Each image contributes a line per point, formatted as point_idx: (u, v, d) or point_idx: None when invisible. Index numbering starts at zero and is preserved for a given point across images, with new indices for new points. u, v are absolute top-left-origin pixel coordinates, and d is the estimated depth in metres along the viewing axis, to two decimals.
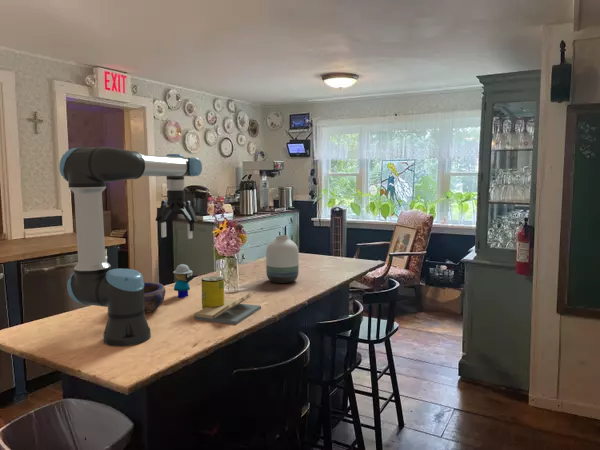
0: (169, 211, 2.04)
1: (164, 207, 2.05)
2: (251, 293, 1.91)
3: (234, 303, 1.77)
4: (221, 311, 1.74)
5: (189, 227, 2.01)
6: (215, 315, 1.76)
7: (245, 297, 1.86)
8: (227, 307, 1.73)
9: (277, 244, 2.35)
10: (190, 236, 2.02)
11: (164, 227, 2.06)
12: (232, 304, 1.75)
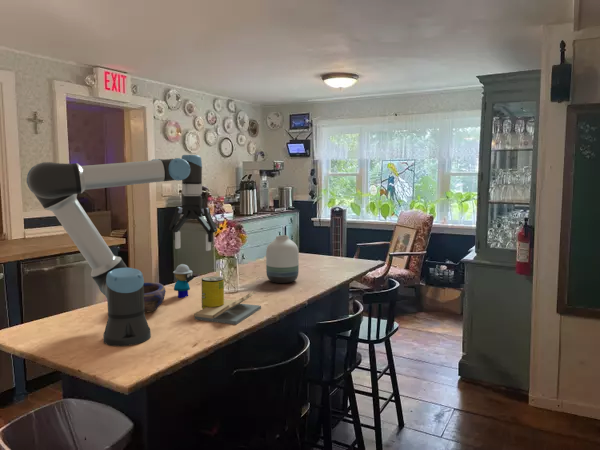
0: (184, 219, 1.81)
1: (178, 215, 1.82)
2: (251, 293, 1.91)
3: (234, 303, 1.77)
4: (221, 311, 1.74)
5: (207, 238, 1.78)
6: (215, 315, 1.76)
7: (245, 297, 1.86)
8: (227, 307, 1.73)
9: (277, 244, 2.35)
10: (208, 248, 1.79)
11: (178, 237, 1.83)
12: (232, 304, 1.75)
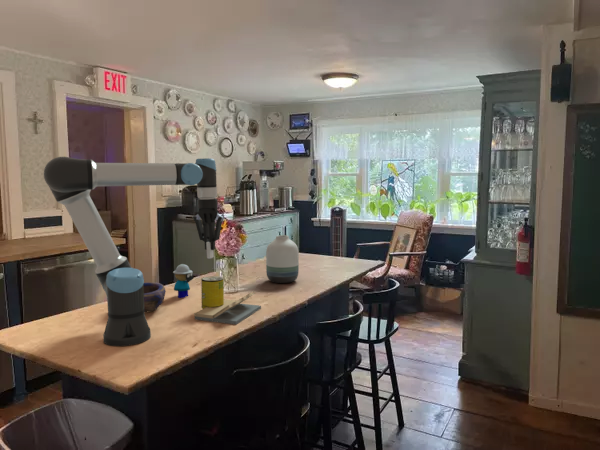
0: (206, 224, 1.81)
1: (199, 222, 1.83)
2: (251, 293, 1.91)
3: (234, 303, 1.77)
4: (221, 311, 1.74)
5: (210, 246, 1.81)
6: (215, 315, 1.76)
7: (245, 297, 1.86)
8: (227, 307, 1.73)
9: (277, 244, 2.35)
10: (211, 255, 1.82)
11: None
12: (232, 304, 1.75)
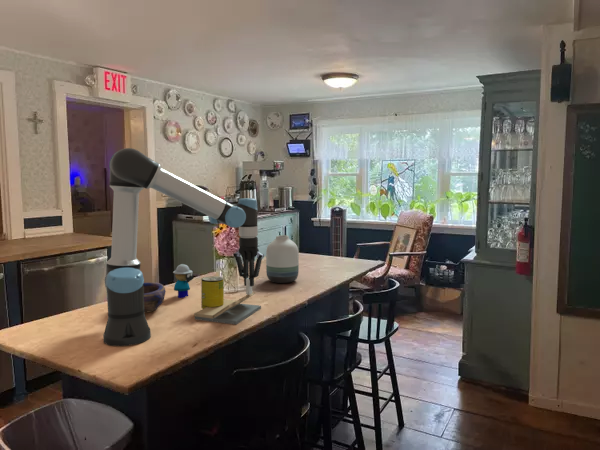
0: (246, 261, 1.87)
1: (239, 259, 1.89)
2: None
3: (234, 303, 1.77)
4: (221, 311, 1.74)
5: (249, 282, 1.87)
6: (215, 315, 1.76)
7: (245, 297, 1.86)
8: (227, 307, 1.73)
9: (277, 244, 2.35)
10: (250, 291, 1.88)
11: None
12: (232, 304, 1.75)
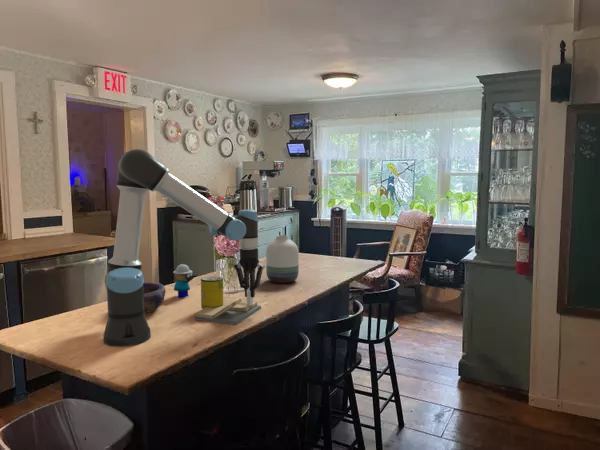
0: (247, 272, 1.88)
1: (240, 270, 1.89)
2: (254, 304, 1.91)
3: (234, 303, 1.77)
4: (221, 311, 1.74)
5: (250, 293, 1.88)
6: (215, 315, 1.76)
7: (248, 309, 1.86)
8: (227, 307, 1.73)
9: (277, 244, 2.35)
10: (251, 302, 1.89)
11: None
12: (232, 304, 1.75)
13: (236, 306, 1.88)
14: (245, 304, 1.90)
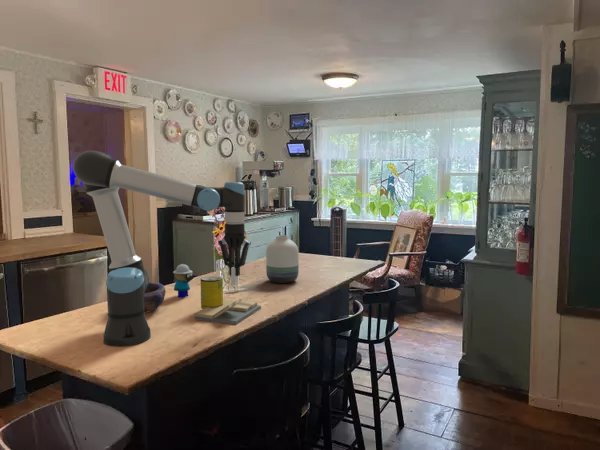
0: (232, 249, 1.76)
1: (225, 246, 1.77)
2: (254, 304, 1.91)
3: (234, 303, 1.77)
4: (221, 311, 1.74)
5: (235, 271, 1.76)
6: (215, 315, 1.76)
7: (248, 309, 1.86)
8: (227, 307, 1.73)
9: (277, 244, 2.35)
10: (235, 281, 1.77)
11: None
12: (232, 304, 1.75)
13: (236, 306, 1.88)
14: (245, 304, 1.90)
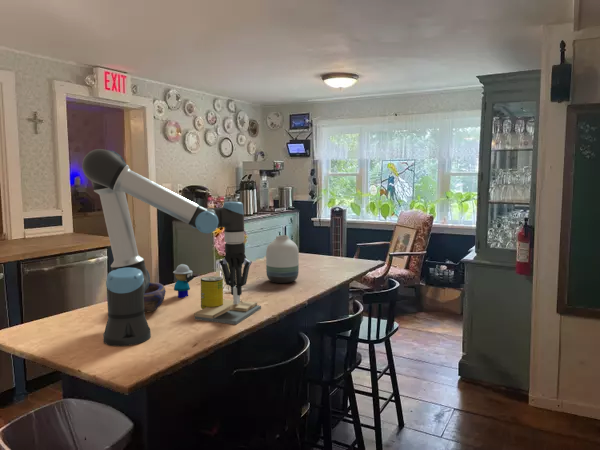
0: (233, 268, 1.76)
1: (226, 266, 1.78)
2: (254, 304, 1.91)
3: (235, 305, 1.77)
4: (221, 312, 1.74)
5: (236, 291, 1.76)
6: (215, 315, 1.76)
7: (248, 309, 1.86)
8: (228, 309, 1.73)
9: (277, 244, 2.35)
10: (238, 301, 1.77)
11: None
12: (233, 306, 1.75)
13: None
14: (245, 304, 1.90)
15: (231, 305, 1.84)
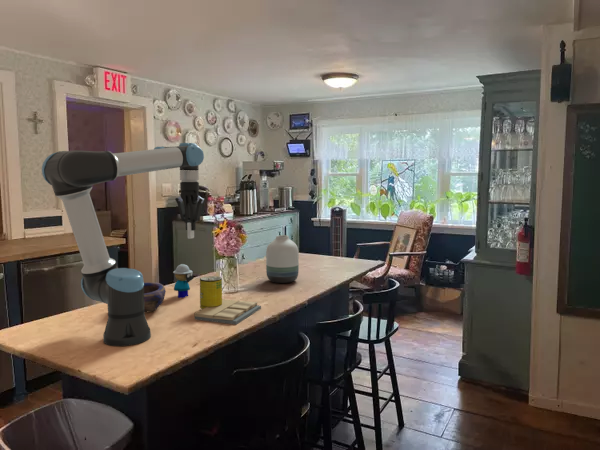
0: (188, 205, 1.90)
1: (181, 203, 1.92)
2: (254, 304, 1.91)
3: (237, 315, 1.77)
4: (222, 317, 1.75)
5: (190, 226, 1.90)
6: (215, 317, 1.76)
7: (248, 309, 1.86)
8: (230, 318, 1.74)
9: (277, 244, 2.35)
10: (191, 236, 1.91)
11: None
12: (235, 316, 1.76)
13: (236, 306, 1.88)
14: (245, 304, 1.90)
15: (232, 309, 1.84)
